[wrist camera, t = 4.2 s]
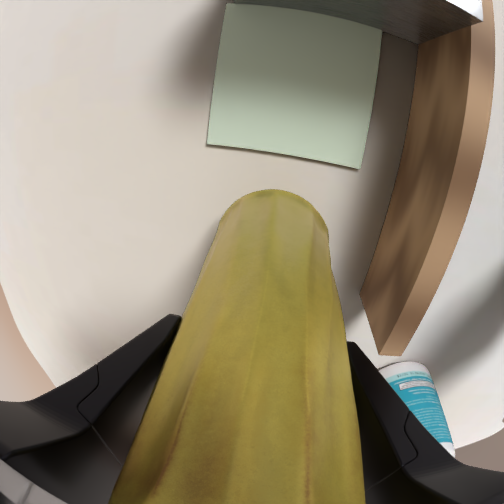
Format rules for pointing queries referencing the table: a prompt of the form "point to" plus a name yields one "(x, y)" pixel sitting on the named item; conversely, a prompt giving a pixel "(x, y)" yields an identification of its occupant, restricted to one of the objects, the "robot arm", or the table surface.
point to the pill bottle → (420, 398)
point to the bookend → (393, 14)
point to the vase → (254, 374)
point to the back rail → (432, 180)
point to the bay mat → (294, 83)
